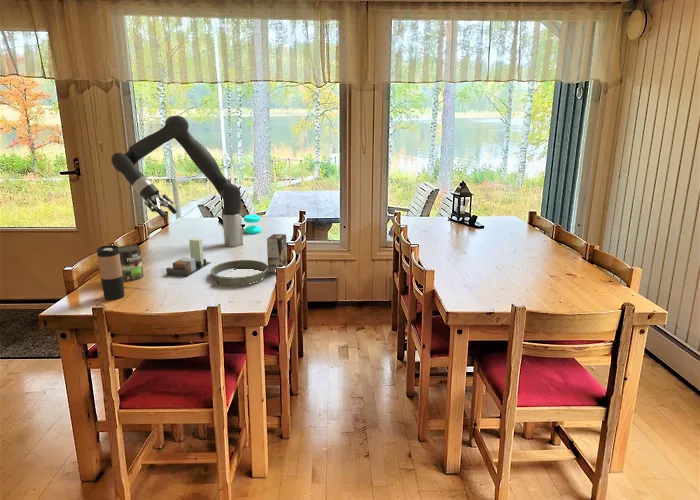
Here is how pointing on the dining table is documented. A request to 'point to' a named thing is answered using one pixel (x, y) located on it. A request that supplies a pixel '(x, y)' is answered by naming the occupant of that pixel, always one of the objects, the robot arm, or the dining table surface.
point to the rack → (184, 271)
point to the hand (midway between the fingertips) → (170, 214)
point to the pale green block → (196, 250)
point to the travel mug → (110, 272)
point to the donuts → (252, 220)
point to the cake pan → (239, 265)
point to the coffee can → (131, 262)
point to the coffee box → (276, 251)
